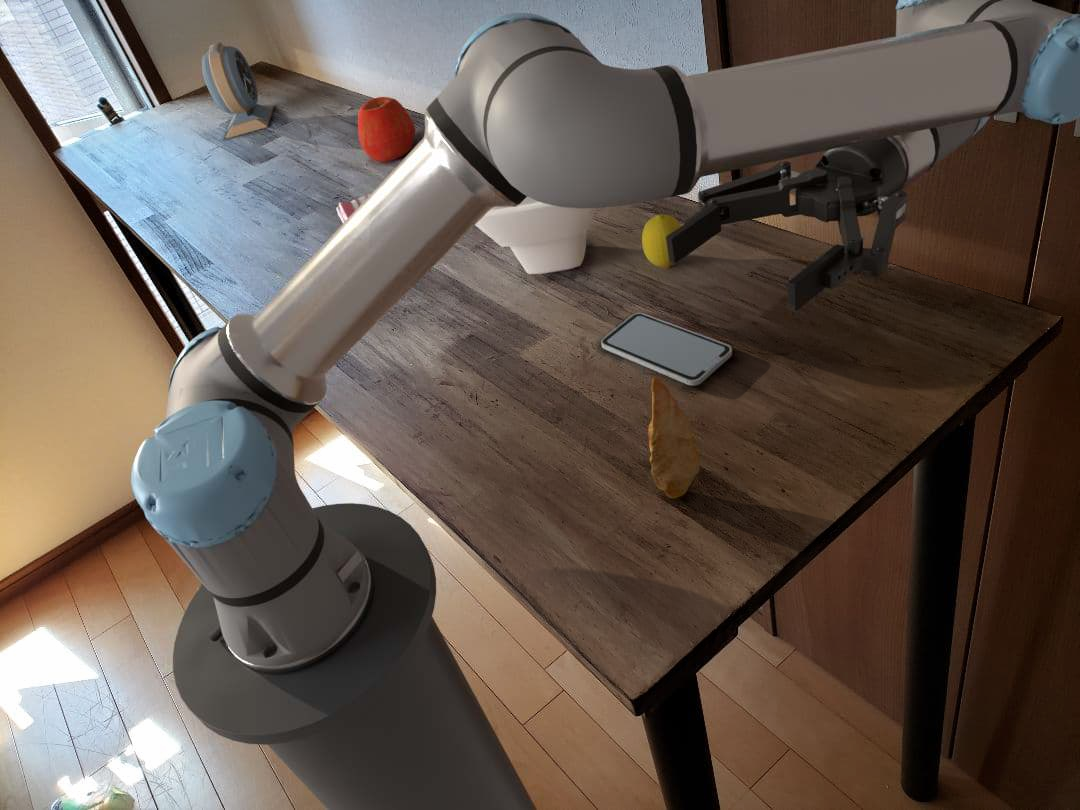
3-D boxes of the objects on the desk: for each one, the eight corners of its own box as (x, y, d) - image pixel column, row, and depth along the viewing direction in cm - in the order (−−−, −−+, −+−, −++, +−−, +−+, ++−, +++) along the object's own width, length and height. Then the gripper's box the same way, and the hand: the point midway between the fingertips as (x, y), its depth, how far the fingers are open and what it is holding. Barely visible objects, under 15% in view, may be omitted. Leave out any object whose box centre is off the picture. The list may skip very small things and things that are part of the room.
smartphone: (637, 310, 105) (735, 347, 95) (638, 316, 105) (736, 353, 95) (597, 342, 102) (694, 384, 92) (598, 348, 102) (695, 390, 92)
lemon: (638, 273, 112) (629, 221, 107) (663, 252, 115) (655, 200, 109) (672, 283, 109) (664, 230, 104) (696, 260, 111) (690, 207, 106)
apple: (432, 145, 160) (414, 90, 153) (387, 171, 155) (367, 116, 148) (400, 135, 166) (381, 83, 160) (356, 160, 162) (335, 108, 155)
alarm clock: (267, 128, 187) (230, 49, 175) (225, 140, 187) (186, 62, 176) (273, 105, 198) (239, 29, 186) (234, 116, 198) (198, 41, 187)
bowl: (625, 287, 110) (607, 193, 101) (483, 309, 114) (454, 220, 105) (623, 215, 124) (607, 127, 115) (497, 236, 128) (472, 152, 119)
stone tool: (687, 471, 84) (669, 357, 75) (705, 481, 83) (689, 366, 73) (653, 502, 82) (630, 389, 73) (671, 513, 81) (649, 399, 71)
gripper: (995, 232, 75) (850, 357, 67) (770, 171, 92) (633, 266, 84) (1007, 155, 70) (853, 280, 63) (767, 105, 87) (622, 199, 79)
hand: (726, 272), depth 73 cm, fingers open, 13 cm apart
